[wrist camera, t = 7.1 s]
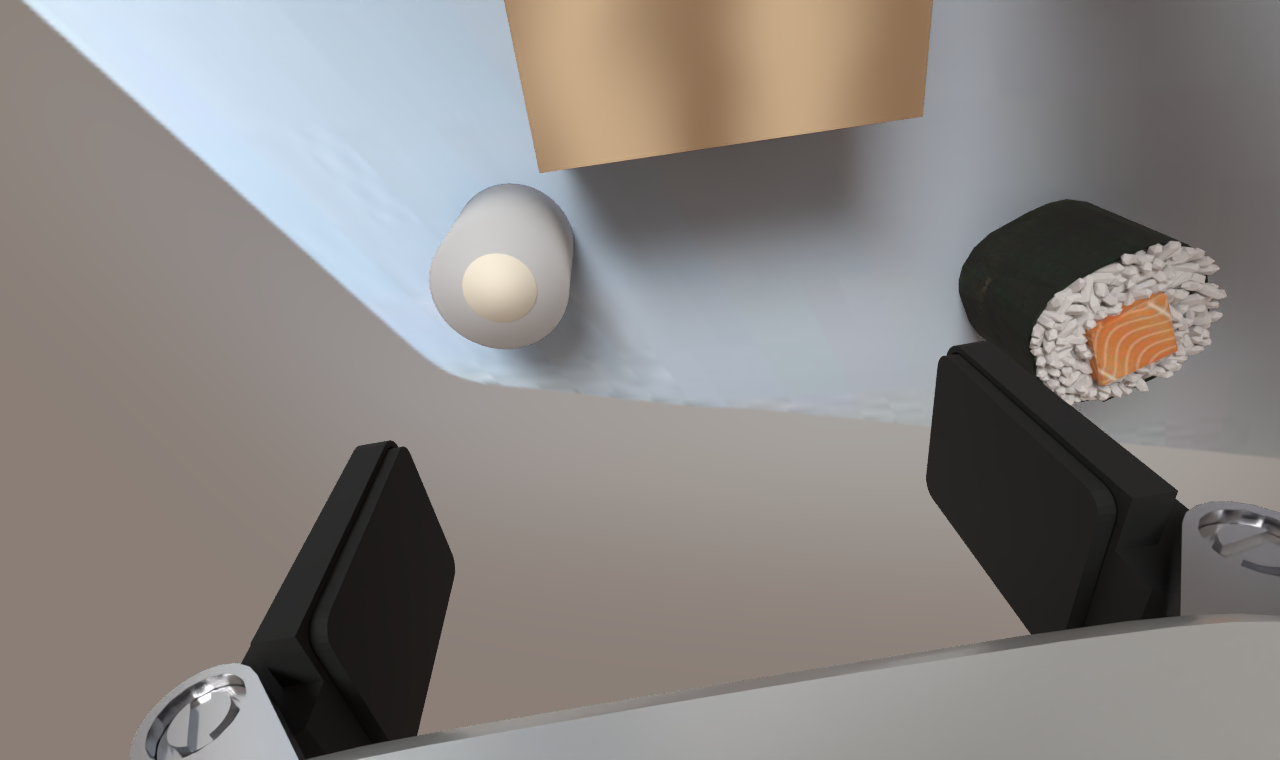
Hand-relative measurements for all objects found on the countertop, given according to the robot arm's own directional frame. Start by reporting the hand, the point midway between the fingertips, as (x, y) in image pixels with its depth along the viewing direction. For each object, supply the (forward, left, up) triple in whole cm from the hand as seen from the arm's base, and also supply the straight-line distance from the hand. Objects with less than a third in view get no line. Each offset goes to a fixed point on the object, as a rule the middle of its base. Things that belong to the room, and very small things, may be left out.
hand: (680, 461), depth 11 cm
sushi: (-22, +9, -23) cm, 33 cm away
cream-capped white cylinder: (+6, +3, -23) cm, 24 cm away
